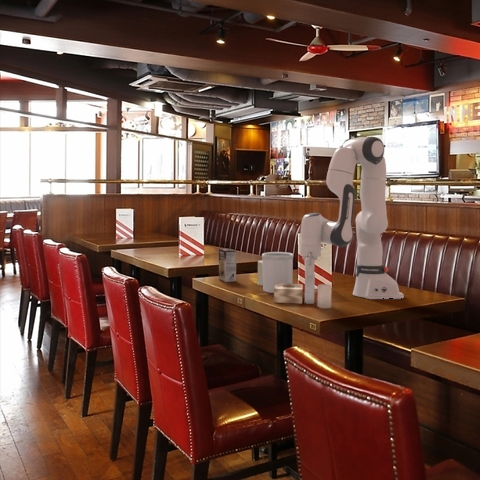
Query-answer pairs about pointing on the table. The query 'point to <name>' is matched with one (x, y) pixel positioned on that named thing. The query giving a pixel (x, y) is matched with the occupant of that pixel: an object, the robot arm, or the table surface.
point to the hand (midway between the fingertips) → (308, 283)
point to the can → (260, 273)
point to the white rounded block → (324, 296)
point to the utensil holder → (276, 269)
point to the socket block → (288, 293)
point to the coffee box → (227, 265)
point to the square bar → (309, 291)
